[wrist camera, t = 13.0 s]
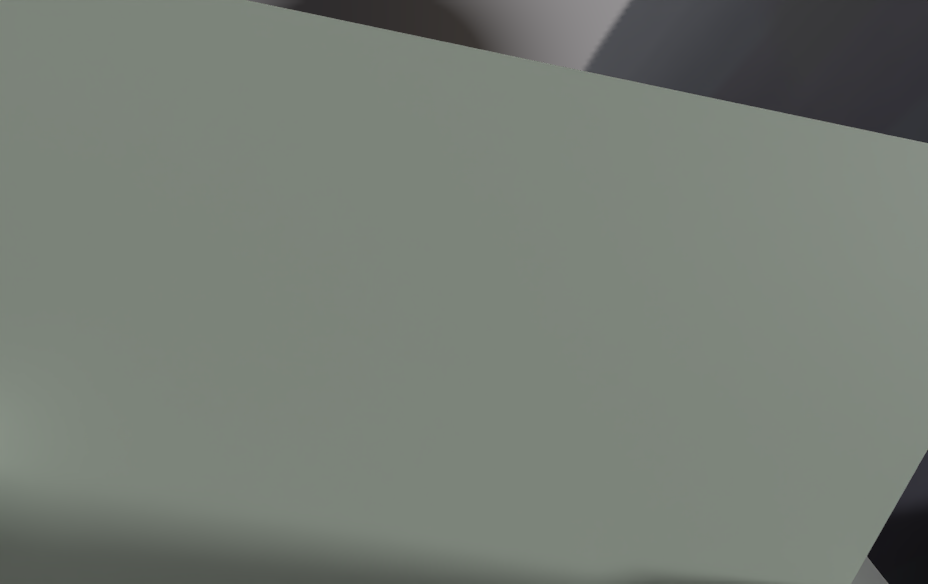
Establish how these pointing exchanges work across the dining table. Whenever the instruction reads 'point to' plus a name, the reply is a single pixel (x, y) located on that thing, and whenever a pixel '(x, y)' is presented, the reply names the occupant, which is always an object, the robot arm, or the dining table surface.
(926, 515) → the dining table surface
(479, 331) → the lid
